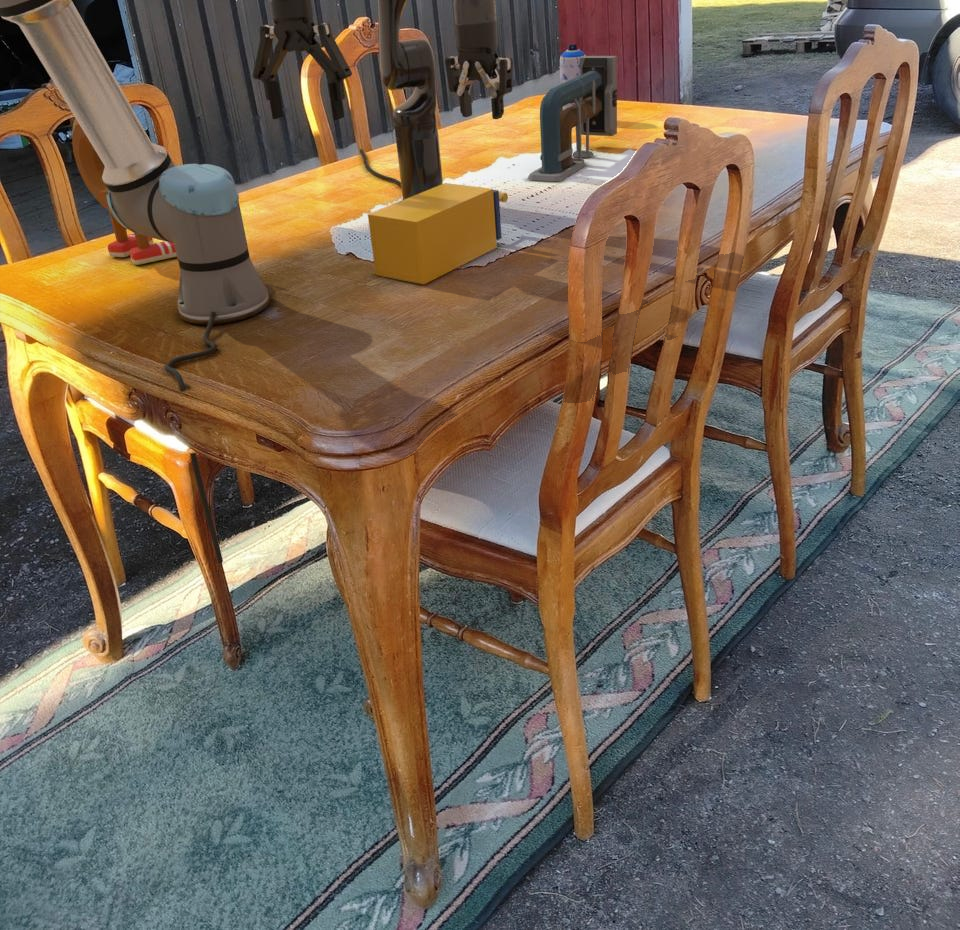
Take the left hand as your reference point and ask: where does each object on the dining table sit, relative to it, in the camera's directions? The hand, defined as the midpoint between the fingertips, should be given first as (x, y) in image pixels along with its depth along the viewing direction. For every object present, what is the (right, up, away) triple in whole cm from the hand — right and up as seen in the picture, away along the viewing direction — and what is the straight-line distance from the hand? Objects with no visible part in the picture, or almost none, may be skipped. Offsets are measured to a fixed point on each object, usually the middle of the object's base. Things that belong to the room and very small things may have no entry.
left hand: (308, 118), depth 184 cm
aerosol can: (+60, +33, +93) cm, 116 cm away
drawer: (+29, -25, -1) cm, 38 cm away
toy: (-35, -24, +12) cm, 44 cm away
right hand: (+33, -2, -5) cm, 34 cm away
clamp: (+56, +8, +51) cm, 76 cm away
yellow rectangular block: (+25, -28, -5) cm, 38 cm away
